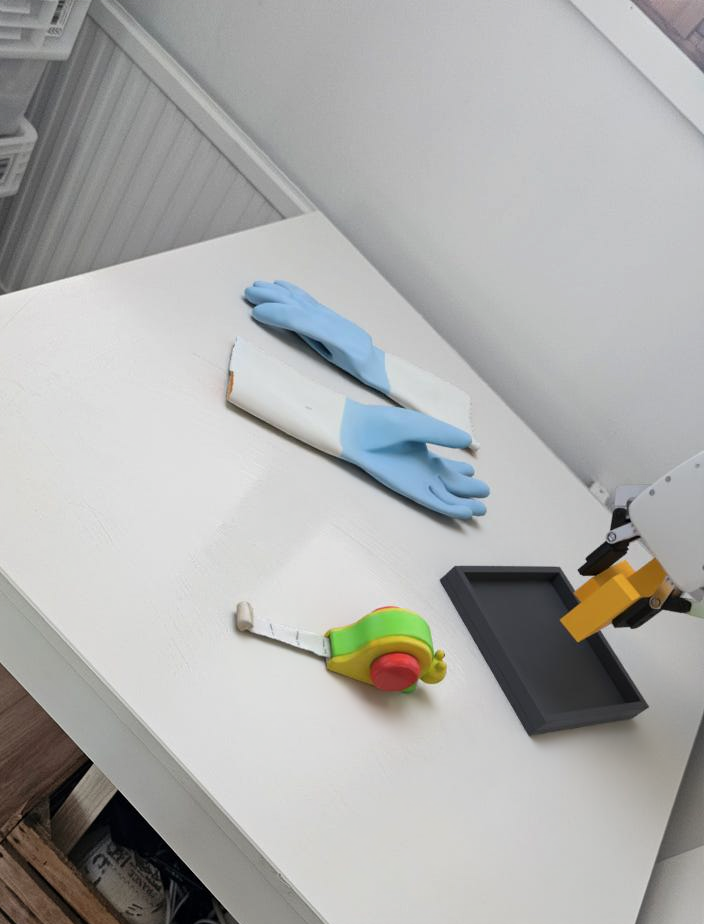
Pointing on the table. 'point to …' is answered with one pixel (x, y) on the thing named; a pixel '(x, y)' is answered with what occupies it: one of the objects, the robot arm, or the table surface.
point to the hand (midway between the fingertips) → (605, 597)
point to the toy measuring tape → (366, 647)
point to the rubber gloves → (359, 404)
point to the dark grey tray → (541, 648)
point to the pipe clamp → (611, 596)
